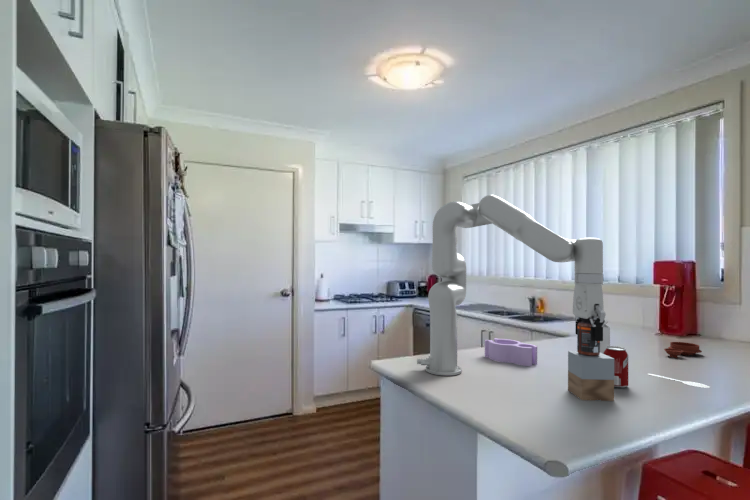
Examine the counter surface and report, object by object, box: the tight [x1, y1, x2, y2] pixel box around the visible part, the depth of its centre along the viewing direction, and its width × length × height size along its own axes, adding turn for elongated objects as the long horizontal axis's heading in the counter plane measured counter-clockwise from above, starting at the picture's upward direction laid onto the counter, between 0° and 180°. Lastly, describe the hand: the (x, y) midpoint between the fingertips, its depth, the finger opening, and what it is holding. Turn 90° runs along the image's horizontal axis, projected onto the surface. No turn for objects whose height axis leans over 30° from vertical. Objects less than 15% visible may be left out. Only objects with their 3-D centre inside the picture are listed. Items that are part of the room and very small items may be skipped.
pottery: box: [664, 341, 703, 359], centre depth 175 cm, size 12×20×4 cm, turn 123°
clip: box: [484, 337, 538, 367], centre depth 162 cm, size 20×12×7 cm, turn 39°
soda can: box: [604, 345, 629, 389], centre depth 130 cm, size 7×7×12 cm
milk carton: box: [600, 319, 611, 354], centre depth 156 cm, size 7×7×19 cm
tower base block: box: [567, 370, 615, 402], centre depth 120 cm, size 9×9×6 cm
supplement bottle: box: [576, 318, 600, 356], centre depth 121 cm, size 6×6×11 cm
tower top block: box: [567, 350, 614, 380], centre depth 120 cm, size 9×9×6 cm
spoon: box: [647, 373, 711, 389], centre depth 136 cm, size 5×18×1 cm, turn 31°
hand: (588, 337), depth 121 cm, fingers open, 9 cm apart
